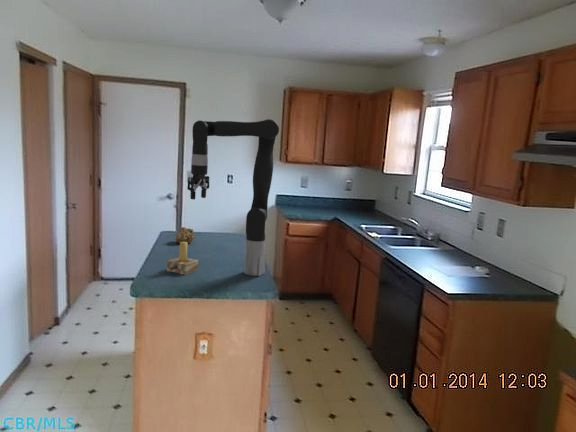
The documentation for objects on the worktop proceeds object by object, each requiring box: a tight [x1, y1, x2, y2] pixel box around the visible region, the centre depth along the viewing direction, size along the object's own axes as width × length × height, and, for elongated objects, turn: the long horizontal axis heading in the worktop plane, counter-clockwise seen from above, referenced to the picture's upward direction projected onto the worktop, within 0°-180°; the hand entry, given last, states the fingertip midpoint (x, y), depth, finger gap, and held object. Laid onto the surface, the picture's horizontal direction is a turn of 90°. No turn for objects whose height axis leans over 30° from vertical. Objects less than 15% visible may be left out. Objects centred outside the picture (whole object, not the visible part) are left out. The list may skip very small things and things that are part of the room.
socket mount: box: [166, 256, 199, 276], centre depth 216 cm, size 11×14×5 cm
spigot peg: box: [178, 242, 189, 263], centre depth 216 cm, size 4×4×14 cm
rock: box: [175, 226, 196, 244], centre depth 271 cm, size 12×10×10 cm
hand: (198, 198), depth 211 cm, fingers open, 8 cm apart
